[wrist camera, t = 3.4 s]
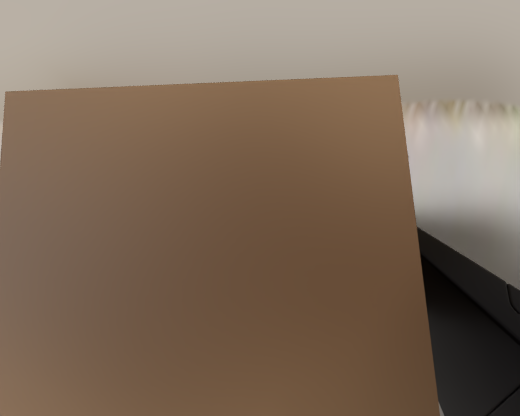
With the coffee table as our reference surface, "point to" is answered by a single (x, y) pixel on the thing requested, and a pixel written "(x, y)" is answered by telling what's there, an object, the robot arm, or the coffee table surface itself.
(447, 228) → the coffee table surface
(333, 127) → the walnut block
